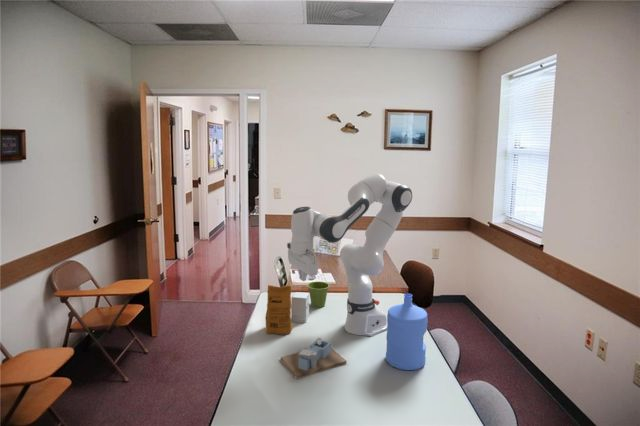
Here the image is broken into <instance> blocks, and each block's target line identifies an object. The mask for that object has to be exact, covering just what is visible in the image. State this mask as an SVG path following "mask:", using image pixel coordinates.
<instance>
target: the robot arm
mask: <svg viewBox="0 0 640 426" xmlns="http://www.w3.org/2000/svg"><path fill="white" fill-rule="evenodd" d="M412 199H413V191H412V189H411V188H410V187H408V186H407V185H405V184H401V183H399V182H395V181H389V180H387V179H386V178H385V177H384V176H383V175H382V174H380V173H373V174H371V175H369V176H366V177H364V178H362V179H360V181H358V182H356V183H355V184H354V185H353V186H352V187H350V188H349V190H348V191H347V200H348V202H349V205H350V206H349V207H348V208H347V209H345V210H344V211H343V212H342V213H341V214H339V215H336V216H333V215H328V214H326V213H322V212H318V211H316V210H314V209H312V207H310V206H300V207H297V208H295V209H294V210H293V211H292V214H291V220H290V221H291V222H290V223H291V224H290V227H291V228H290V229H291V233H292V235H291V241H290V242H287V243H286V248H287V257H288V258H287V260H288V263H289V264H290V265H292V266H293V267H294V268H296V269H297V272H298V276H299V277H298V278H299V280H301V281H302V282H306V281H307V277H308V276H309V277H311V276H312V277H314V276H317V275H318V274H319V267H318V259H317V256H316V255H315V254H314V238H315V237H318V238H321V239H323V240H325V241H326V242H329V243H332V244H333V243H337V242H339V241H341V240H342V239H343V237H344V236H345V235H346V233H347V231H348V230H349V229H350V228H351V227H352V226H353V225H354V224H355V223H356V222H357V221H359V219H361V218H362V217H363V216H364V214H366V213H367V211H368V210H369V208H370V206H372V204H374V202H375V203H379V204H381V209H380V210H379V212H378V213H377V214H376V215H375V217H374V218H373V219H372V221H371V222H370V224H369V225H368V226H367V228H366V230H365V233H364V235H365V242H364V244H363V246H361V245H358V244H354V243H348V244H345V245H344V246H342V248H341V249H340V251H339V259H340V261H341V262H342V264H343V268H344V271H345V274H346V279H347V291H348V292H347V300H346V301H347V302H346V309H347V314H346V319H345V320H346V321H345V324H344V326H343V328H344V330H345V331H347V333H350V334H352V335H359V336H366V337H372V336H373V337H374V336H375V335H377V334H378V335H379V334H380V333H382V332H384V331H387V315H386V313H385V312H384V311H383V310H382V309H380V308H379V307H377V306H379V304H380V301H379V300H378V299H374V298H373V282H372V280H371V279H370V276H371V277H375V276H378V275H380V274H381V273H382V271H383V269H384V266H385V261H384V259H383V258H384V257H383V256H384V251H385V249H386V246H387V244H388V242H389V241H390V239H391V237H393V234H394V233H395V232H396V229H397V228H398V226H399V225H400V222H401V220H402V218H403V213H404V212H403V211H405V210H406V209H407V208H408V207H409V205H410V204H411V203H412Z"/></svg>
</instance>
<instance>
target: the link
mask: <svg viewBox="0 0 640 426" xmlns="http://www.w3.org/2000/svg"><path fill="white" fill-rule="evenodd" d="M331 348H332V342H330V341H327V340H323V339H322V347H318V346H317V339H315V341H314V342H313V343H311V344H310V346H309V349H308V350H311V351H314V352H317V361H318V360H319V359H320V358H323V359H324V358H325V357H326V356H327V355H328V354H329V353H330V352H331ZM310 367H311V358H310V359H307V358H303V357H300V358H299V368H300V369H303V370H306V371H307V370H308V369H309V368H310Z"/></svg>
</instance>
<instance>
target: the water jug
mask: <svg viewBox="0 0 640 426" xmlns="http://www.w3.org/2000/svg"><path fill="white" fill-rule="evenodd" d="M403 297H404V298H403V303H400V304H396V305H393V306H391V307H390V308H388V310H387V315H386V319H387V330H386V351H385V359H386V361H387V363H388V364H389V365H390V366H391V367H393V368H395V369H398V370H402V371H414V370H418V369H421V368H423V367H424V365H425V364H426V359H427V358H426V351H427V347H426V344H425V342H424V335H425V333H426V332H427V330H428V313H427V311H426V310H425V309H424V308H422V307H419V306H417V305H415V304H413V294H412V293H404V295H403Z"/></svg>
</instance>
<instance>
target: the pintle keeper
mask: <svg viewBox="0 0 640 426" xmlns="http://www.w3.org/2000/svg"><path fill="white" fill-rule="evenodd" d="M316 340H317V346H318V347H322V340H323V338H321V337H318V338H317V339H316ZM299 352H300V353H299V357H303V358H307V359H310V358H311V369H317V352H314V351H311V350H309V349H305V348H303V349H302V350H301V351H299Z"/></svg>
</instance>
